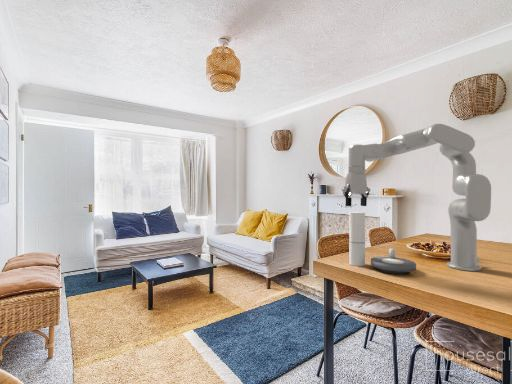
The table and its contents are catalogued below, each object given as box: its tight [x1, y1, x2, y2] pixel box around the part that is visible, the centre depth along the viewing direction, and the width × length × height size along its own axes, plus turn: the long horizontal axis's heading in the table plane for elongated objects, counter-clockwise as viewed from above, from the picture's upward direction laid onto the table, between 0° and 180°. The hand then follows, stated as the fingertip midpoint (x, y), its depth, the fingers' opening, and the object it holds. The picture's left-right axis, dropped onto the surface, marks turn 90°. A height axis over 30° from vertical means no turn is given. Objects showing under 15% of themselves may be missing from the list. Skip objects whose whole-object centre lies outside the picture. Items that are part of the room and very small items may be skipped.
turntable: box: [370, 248, 417, 273], centre depth 120 cm, size 18×18×6 cm
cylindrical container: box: [348, 211, 366, 267], centre depth 130 cm, size 7×7×25 cm
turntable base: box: [377, 268, 409, 275], centre depth 120 cm, size 12×12×2 cm
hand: (356, 206), depth 130 cm, fingers open, 9 cm apart
